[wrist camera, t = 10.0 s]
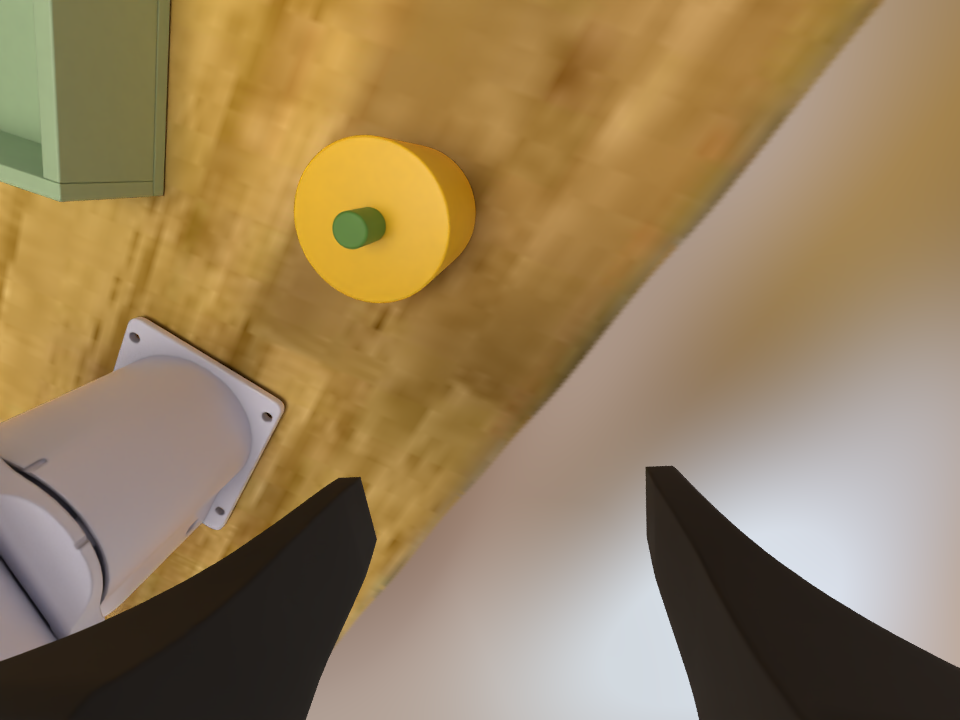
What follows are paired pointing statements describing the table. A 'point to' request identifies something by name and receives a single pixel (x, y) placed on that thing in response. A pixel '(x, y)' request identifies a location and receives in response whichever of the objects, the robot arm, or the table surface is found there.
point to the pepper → (382, 216)
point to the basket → (84, 97)
